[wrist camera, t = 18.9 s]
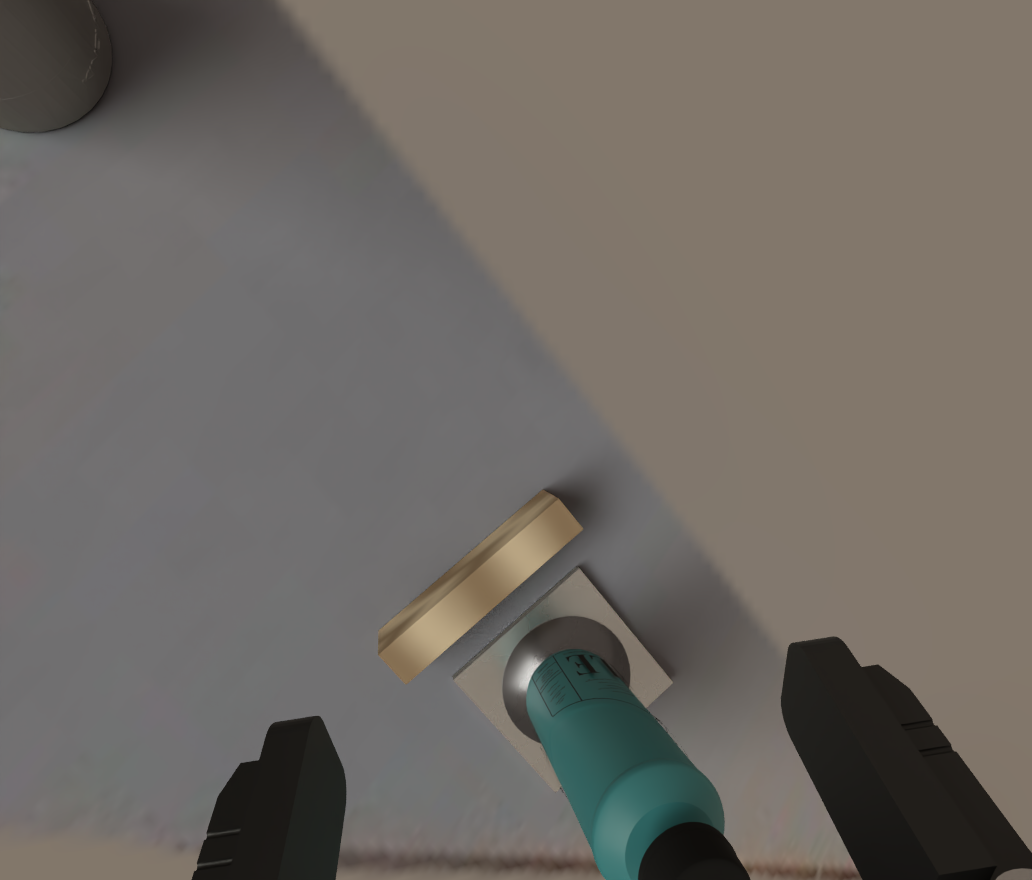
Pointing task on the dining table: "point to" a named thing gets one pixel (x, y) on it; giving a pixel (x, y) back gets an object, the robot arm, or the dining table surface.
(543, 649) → the plate
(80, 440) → the dining table surface
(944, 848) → the robot arm
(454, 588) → the sill
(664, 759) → the beverage bottle
